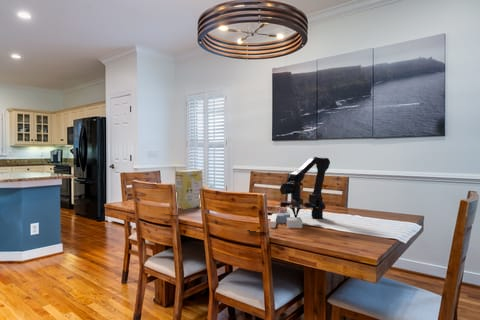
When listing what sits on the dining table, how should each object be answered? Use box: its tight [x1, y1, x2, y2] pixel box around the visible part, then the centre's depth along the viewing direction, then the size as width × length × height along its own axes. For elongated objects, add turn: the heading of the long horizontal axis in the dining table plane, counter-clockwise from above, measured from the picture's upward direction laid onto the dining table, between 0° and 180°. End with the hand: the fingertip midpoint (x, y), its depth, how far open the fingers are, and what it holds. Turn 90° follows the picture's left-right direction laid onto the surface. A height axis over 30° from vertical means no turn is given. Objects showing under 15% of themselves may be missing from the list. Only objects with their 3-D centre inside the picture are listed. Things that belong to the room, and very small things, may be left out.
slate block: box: [276, 212, 291, 224], centre depth 194 cm, size 8×8×4 cm
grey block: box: [285, 216, 303, 229], centre depth 182 cm, size 8×8×4 cm
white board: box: [269, 213, 278, 228], centre depth 189 cm, size 3×22×4 cm, turn 170°
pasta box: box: [174, 169, 203, 210], centre depth 243 cm, size 18×10×28 cm, turn 138°
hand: (295, 218), depth 194 cm, fingers closed
